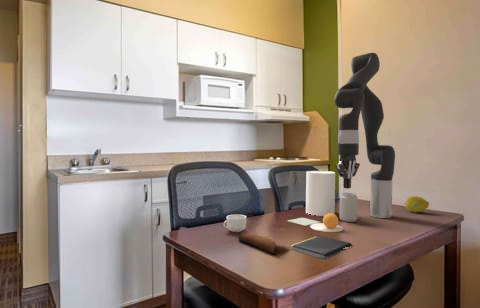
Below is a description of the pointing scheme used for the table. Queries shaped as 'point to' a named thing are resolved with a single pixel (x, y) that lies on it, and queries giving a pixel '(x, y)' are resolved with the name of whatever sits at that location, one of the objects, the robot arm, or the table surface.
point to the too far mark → (303, 221)
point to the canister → (320, 192)
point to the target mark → (325, 228)
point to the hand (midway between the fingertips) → (347, 188)
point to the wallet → (320, 247)
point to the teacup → (235, 223)
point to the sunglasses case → (263, 242)
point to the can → (348, 207)
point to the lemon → (416, 204)
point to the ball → (330, 220)
